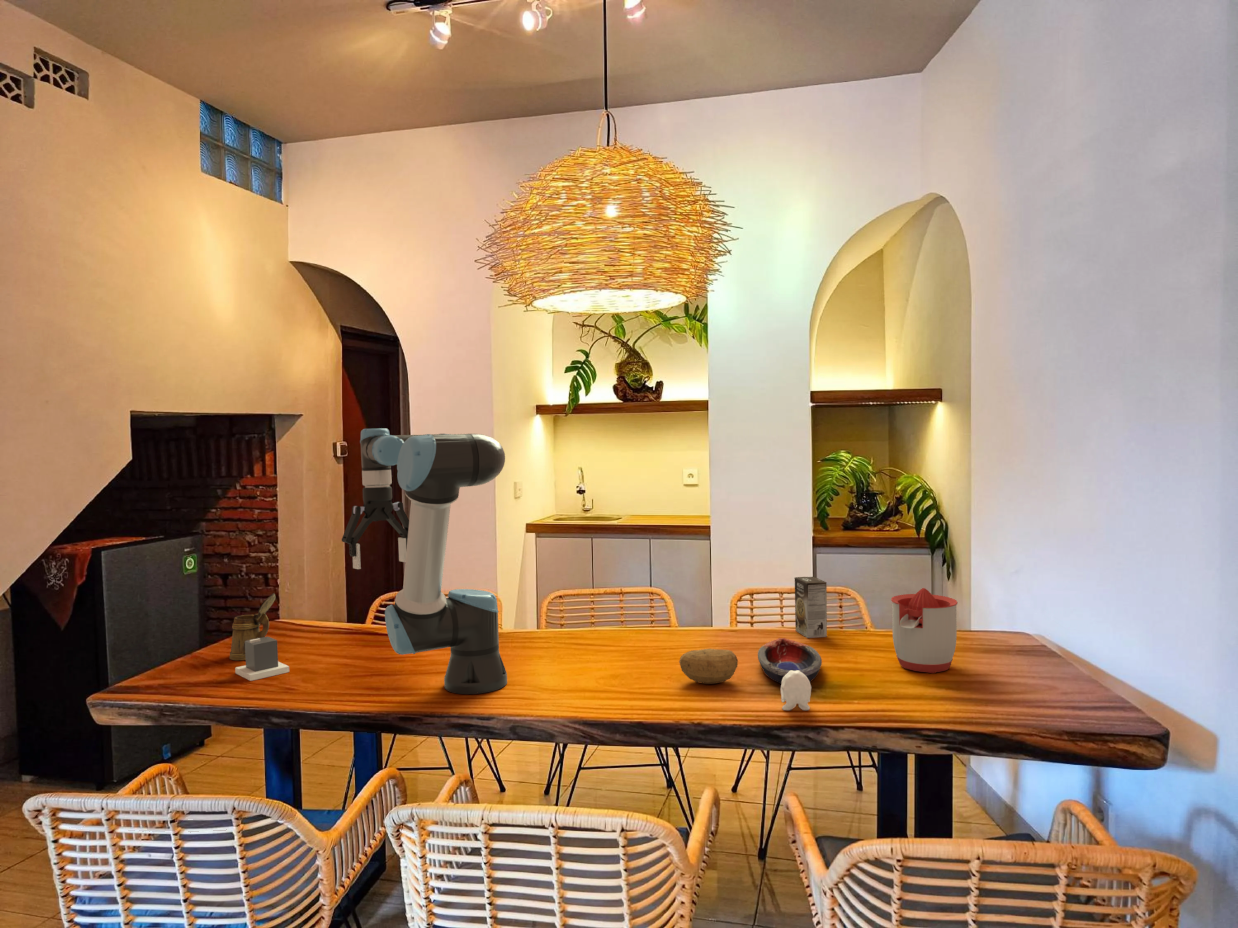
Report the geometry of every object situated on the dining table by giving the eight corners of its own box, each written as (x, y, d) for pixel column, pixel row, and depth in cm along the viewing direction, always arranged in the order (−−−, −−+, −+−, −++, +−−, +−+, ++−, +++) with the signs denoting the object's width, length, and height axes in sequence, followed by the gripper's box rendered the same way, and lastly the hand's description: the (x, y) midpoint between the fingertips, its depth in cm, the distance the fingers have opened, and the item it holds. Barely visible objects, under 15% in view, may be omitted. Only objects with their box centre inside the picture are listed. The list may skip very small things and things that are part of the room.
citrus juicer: (876, 669, 206) (876, 590, 205) (908, 654, 218) (908, 579, 217) (938, 682, 195) (938, 598, 194) (968, 665, 207) (967, 586, 206)
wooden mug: (269, 660, 228) (266, 596, 227) (222, 660, 229) (219, 596, 228) (285, 651, 237) (282, 589, 236) (240, 651, 238) (238, 589, 237)
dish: (759, 689, 194) (758, 668, 193) (757, 653, 224) (756, 635, 224) (827, 691, 191) (826, 670, 191) (815, 654, 222) (815, 635, 221)
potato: (680, 676, 205) (679, 644, 204) (737, 676, 203) (737, 644, 203) (678, 688, 195) (677, 655, 195) (738, 689, 193) (737, 656, 193)
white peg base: (289, 671, 217) (288, 647, 216) (250, 680, 210) (249, 655, 209) (273, 664, 224) (272, 640, 224) (235, 673, 217) (234, 648, 217)
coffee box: (794, 630, 246) (793, 577, 245) (814, 629, 247) (814, 575, 246) (806, 638, 237) (806, 582, 236) (827, 636, 238) (827, 581, 237)
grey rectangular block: (269, 662, 221) (267, 634, 221) (278, 666, 217) (276, 637, 216) (246, 667, 217) (244, 638, 216) (254, 671, 213) (253, 642, 212)
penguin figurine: (782, 673, 176) (775, 662, 188) (783, 714, 176) (776, 700, 188) (812, 673, 176) (803, 662, 188) (813, 713, 175) (804, 700, 187)
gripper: (410, 482, 232) (413, 557, 233) (326, 488, 215) (329, 570, 215) (425, 483, 227) (428, 559, 228) (339, 490, 209) (343, 573, 210)
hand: (380, 565), depth 222 cm, fingers open, 13 cm apart
